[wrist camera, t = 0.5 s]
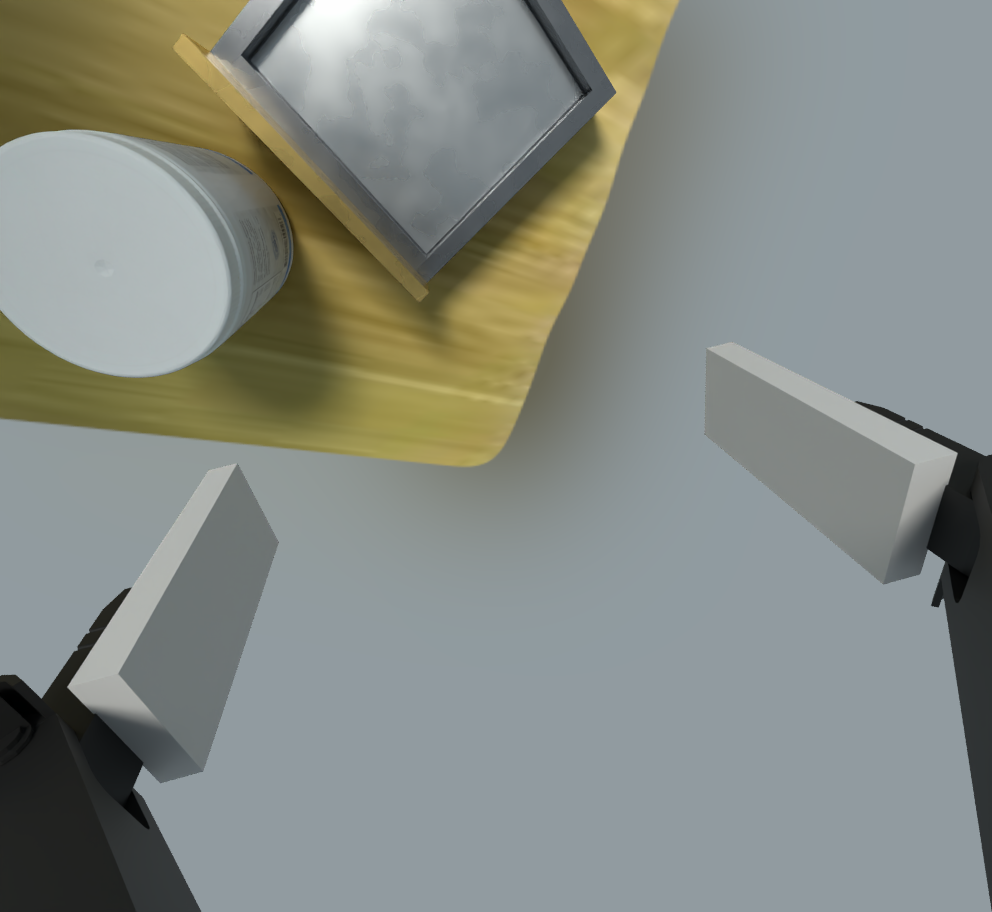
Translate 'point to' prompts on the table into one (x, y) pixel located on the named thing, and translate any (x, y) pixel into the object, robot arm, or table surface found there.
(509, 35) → the gray square tray
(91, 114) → the table surface
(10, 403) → the table surface
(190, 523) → the robot arm
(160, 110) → the table surface
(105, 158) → the supplement tub
